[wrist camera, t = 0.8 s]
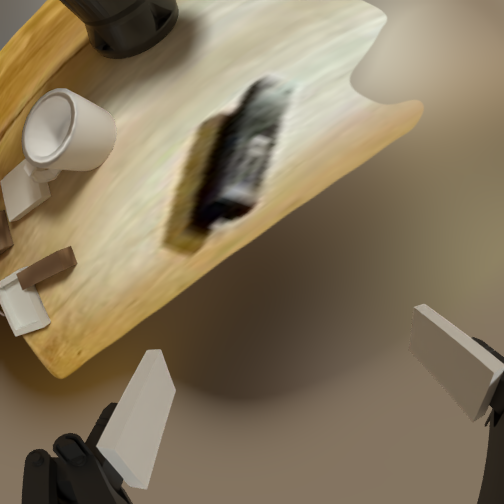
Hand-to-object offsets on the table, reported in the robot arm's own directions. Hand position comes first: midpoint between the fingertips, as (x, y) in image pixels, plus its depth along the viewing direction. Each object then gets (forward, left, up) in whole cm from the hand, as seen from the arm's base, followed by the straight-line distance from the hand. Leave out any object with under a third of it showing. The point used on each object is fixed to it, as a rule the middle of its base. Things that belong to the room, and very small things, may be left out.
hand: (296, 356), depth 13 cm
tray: (-6, -46, -26) cm, 53 cm away
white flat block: (-24, -34, -26) cm, 49 cm away
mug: (-25, -20, -26) cm, 41 cm away
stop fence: (-9, -34, -26) cm, 44 cm away
